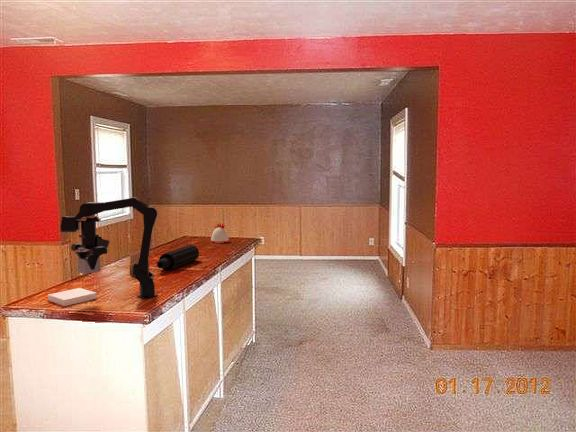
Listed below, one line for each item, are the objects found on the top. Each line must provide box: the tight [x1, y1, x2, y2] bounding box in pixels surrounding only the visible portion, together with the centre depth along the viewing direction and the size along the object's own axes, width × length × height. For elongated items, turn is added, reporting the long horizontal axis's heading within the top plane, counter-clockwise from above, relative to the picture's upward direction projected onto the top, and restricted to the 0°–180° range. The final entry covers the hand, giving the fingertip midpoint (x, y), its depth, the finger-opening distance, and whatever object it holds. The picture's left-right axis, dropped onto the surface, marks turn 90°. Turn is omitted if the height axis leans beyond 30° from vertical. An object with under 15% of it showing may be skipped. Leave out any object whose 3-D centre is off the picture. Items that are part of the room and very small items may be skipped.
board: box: [47, 287, 98, 307], centre depth 192 cm, size 14×14×2 cm
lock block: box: [77, 256, 101, 275], centre depth 190 cm, size 5×7×6 cm
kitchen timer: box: [210, 222, 230, 242], centre depth 350 cm, size 14×14×15 cm
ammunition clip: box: [129, 249, 141, 276], centre depth 243 cm, size 11×2×12 cm, turn 169°
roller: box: [156, 244, 200, 272], centre depth 260 cm, size 38×10×10 cm, turn 165°
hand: (89, 268), depth 190 cm, fingers closed on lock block, 5 cm apart
